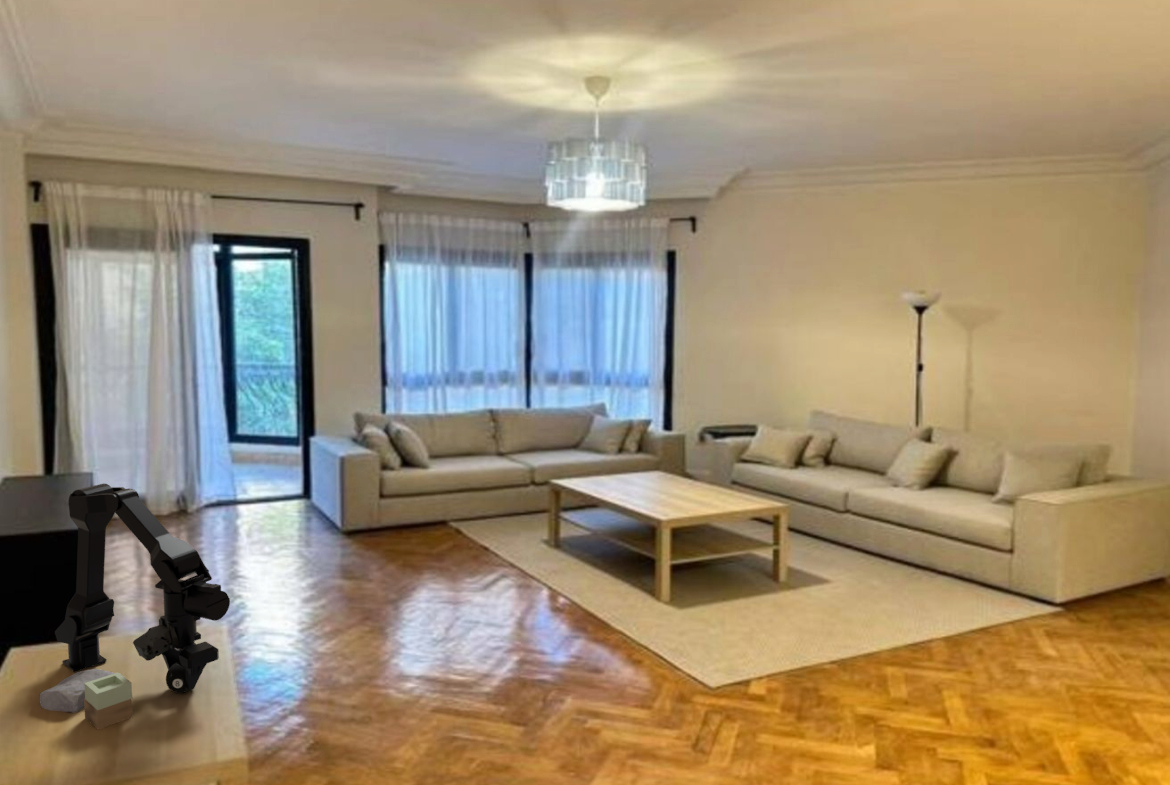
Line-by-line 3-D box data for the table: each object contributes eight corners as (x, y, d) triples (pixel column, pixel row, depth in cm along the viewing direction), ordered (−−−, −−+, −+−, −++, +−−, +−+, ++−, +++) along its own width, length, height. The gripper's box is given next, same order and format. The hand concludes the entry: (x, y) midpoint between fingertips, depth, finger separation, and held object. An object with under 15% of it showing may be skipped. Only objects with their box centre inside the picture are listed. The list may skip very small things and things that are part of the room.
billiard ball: (203, 682, 171) (202, 655, 170) (193, 697, 165) (192, 669, 164) (172, 683, 170) (171, 656, 169) (161, 698, 164) (160, 670, 164)
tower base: (85, 719, 156) (84, 699, 156) (118, 706, 161) (117, 687, 160) (98, 730, 153) (97, 710, 152) (132, 717, 157) (131, 698, 157)
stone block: (35, 717, 159) (78, 714, 157) (30, 693, 159) (73, 690, 157) (84, 690, 171) (124, 687, 169) (79, 668, 171) (120, 664, 169)
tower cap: (85, 699, 156) (84, 683, 155) (119, 687, 160) (118, 672, 160) (97, 710, 152) (96, 694, 152) (132, 698, 157) (131, 682, 156)
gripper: (116, 610, 165) (120, 683, 167) (161, 637, 153) (164, 715, 156) (173, 594, 173) (175, 664, 176) (219, 619, 162) (221, 693, 164)
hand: (182, 684), depth 167 cm, fingers open, 6 cm apart
